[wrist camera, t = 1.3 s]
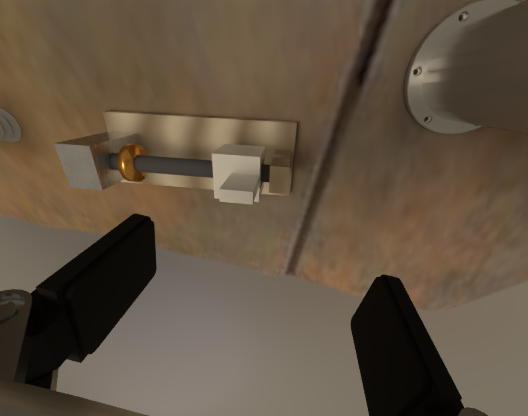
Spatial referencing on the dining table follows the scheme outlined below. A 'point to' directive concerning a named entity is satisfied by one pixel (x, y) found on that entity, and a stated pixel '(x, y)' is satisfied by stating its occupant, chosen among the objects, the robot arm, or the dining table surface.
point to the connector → (100, 159)
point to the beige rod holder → (208, 143)
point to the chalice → (9, 127)
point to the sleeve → (238, 173)
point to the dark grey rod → (177, 166)
